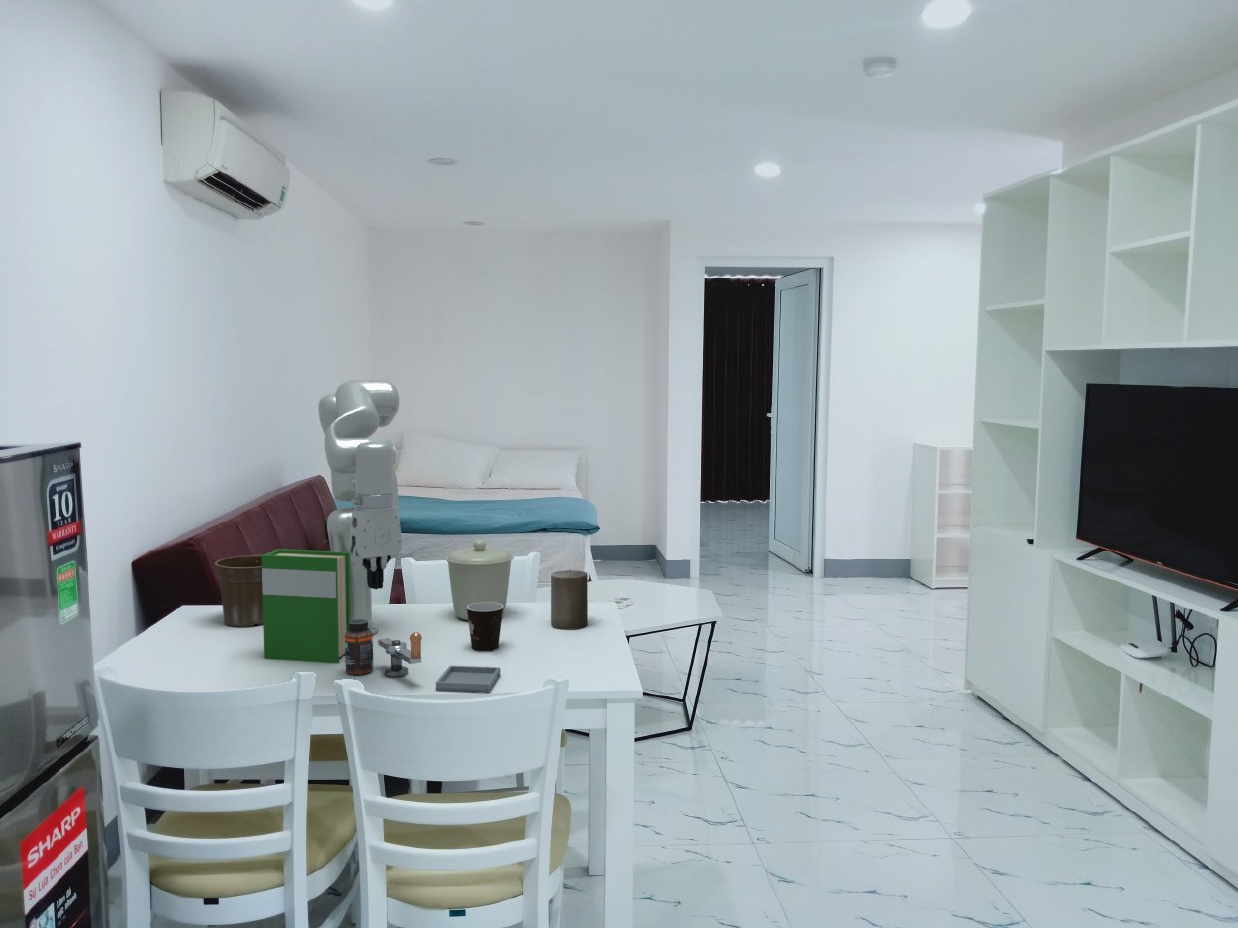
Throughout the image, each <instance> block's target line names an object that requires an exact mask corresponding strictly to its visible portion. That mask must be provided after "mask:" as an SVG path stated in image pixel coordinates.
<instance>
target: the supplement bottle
mask: <svg viewBox="0 0 1238 928" xmlns="http://www.w3.org/2000/svg"><path fill="white" fill-rule="evenodd" d="M344 662H345V663H344V664H345V673H347V674H349V675H352V676H361V675H366V674H370V673H371V672H372V671H374V665H375V664H374V634H373V633H372V631H371V630H370V629H369V628H368V620H365V619H356V620H352V621H350V622H349V630H348V631H347V632H346V633H345V661H344Z"/></svg>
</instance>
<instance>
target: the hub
mask: <svg viewBox="0 0 1238 928" xmlns="http://www.w3.org/2000/svg"><path fill="white" fill-rule="evenodd" d="M408 675H409V667H407V666H404V665H403V659H401V658H399V657H398V656H396V655H391V654H390V666H388V667H386V668H385V669H384V676H385V677H386V678H392V679H393V678H394V679H396V678H403V677H406V676H408Z"/></svg>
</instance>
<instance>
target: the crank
mask: <svg viewBox="0 0 1238 928" xmlns="http://www.w3.org/2000/svg"><path fill="white" fill-rule="evenodd" d="M422 639H423V638H422V635H421V633H420V632H417V631H415V632H412V633H411V634H410V635H409V641H410V649H408V648H407V646H408V645H407V643H406V642H403V641H401V640H400V639H399V640H398V639H395V640H394V639H391V638H389V637H385V638H379V639H377V641H378V643H377V644H378V646H379V647H381V648H383V649H384V650H385V653H386V654H387V655H390V656H391V655H396V656H398V657H399V658H401V659H402V661H404V662H407V663H408V664H409V665H415V664H419V663H422V650H421V649H422V648H421V647H422V646H421V645H422Z"/></svg>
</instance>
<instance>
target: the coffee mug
mask: <svg viewBox="0 0 1238 928" xmlns="http://www.w3.org/2000/svg"><path fill="white" fill-rule="evenodd" d="M467 613H468V620H467V621H468V629H469V637H470V644H471V645H470V646H471V649H472V651H476V652H481V653H482V652H483V653H484V652H491V651H496V650H498V649H499V646H500V638H501V628H502V622H503V614H504V613H503V605H502V604H499V603H493V602H480V603H474V604H470V605H468V606H467ZM502 613H503V614H502Z"/></svg>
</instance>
